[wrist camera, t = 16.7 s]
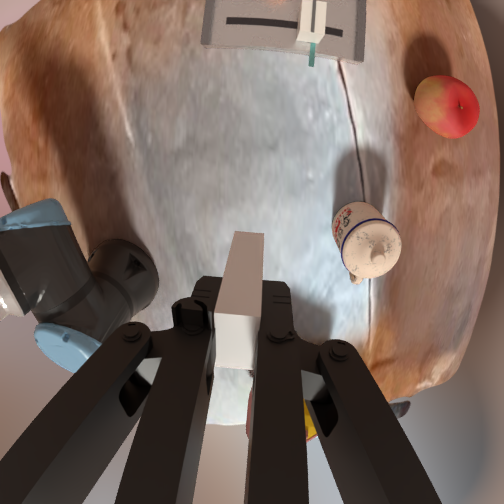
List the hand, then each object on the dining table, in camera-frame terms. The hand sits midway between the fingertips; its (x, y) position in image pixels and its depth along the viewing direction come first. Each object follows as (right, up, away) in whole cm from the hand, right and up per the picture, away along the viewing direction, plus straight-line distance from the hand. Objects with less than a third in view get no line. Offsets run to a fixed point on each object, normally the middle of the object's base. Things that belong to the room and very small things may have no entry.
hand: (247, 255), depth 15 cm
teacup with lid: (+17, +3, +30) cm, 35 cm away
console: (+5, +36, +14) cm, 39 cm away
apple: (+28, +24, +19) cm, 41 cm away
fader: (+8, +31, +13) cm, 34 cm away
